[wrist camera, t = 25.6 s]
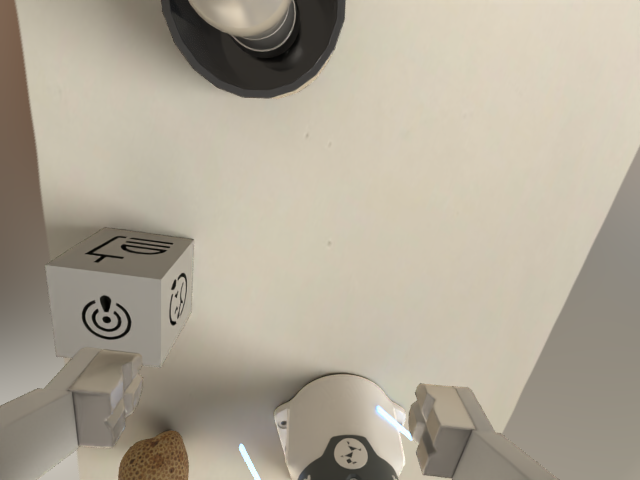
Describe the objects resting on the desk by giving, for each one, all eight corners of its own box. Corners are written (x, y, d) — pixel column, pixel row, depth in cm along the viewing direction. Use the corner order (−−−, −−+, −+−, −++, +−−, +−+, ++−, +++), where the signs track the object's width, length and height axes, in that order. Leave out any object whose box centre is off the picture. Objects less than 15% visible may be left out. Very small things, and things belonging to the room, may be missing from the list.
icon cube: (104, 227, 41) (44, 264, 32) (194, 239, 42) (161, 279, 33) (109, 302, 45) (56, 356, 35) (191, 312, 45) (160, 367, 36)
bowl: (333, 100, 37) (340, 100, 29) (203, 96, 36) (171, 94, 28) (340, -58, 32) (351, -114, 24) (190, -66, 32) (147, -126, 23)
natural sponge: (143, 460, 55) (109, 534, 45) (130, 416, 51) (91, 486, 42) (204, 457, 55) (182, 530, 45) (194, 413, 51) (169, 482, 42)
